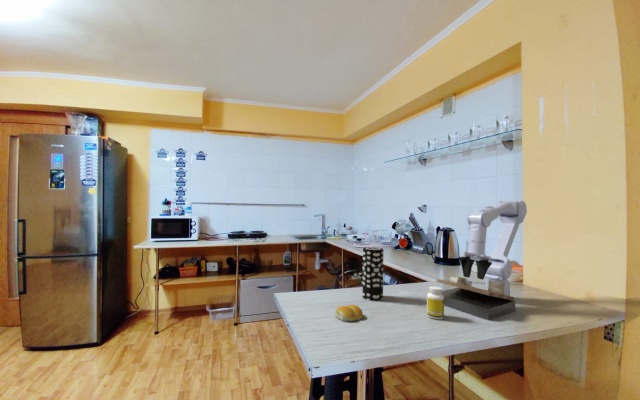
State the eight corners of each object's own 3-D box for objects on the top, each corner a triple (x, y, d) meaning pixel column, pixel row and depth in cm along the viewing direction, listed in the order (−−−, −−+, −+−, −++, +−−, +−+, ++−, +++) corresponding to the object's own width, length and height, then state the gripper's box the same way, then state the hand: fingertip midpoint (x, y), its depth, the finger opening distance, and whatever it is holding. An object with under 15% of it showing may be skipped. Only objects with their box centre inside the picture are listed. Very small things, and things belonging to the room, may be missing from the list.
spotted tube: (367, 293, 120) (368, 246, 121) (386, 297, 116) (386, 248, 116) (358, 298, 114) (359, 248, 114) (377, 302, 109) (378, 250, 110)
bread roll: (367, 318, 93) (367, 306, 93) (346, 324, 88) (346, 311, 88) (351, 310, 100) (351, 299, 100) (330, 315, 95) (331, 304, 95)
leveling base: (460, 295, 120) (460, 286, 120) (515, 311, 102) (515, 301, 102) (433, 301, 111) (433, 292, 111) (488, 320, 92) (488, 309, 93)
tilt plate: (462, 287, 119) (463, 274, 120) (513, 300, 102) (515, 286, 103) (437, 281, 111) (439, 268, 112) (489, 295, 94) (491, 280, 95)
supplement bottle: (445, 320, 92) (445, 290, 92) (428, 319, 93) (428, 289, 93) (442, 314, 97) (442, 286, 97) (425, 313, 98) (425, 285, 98)
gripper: (473, 240, 102) (469, 278, 100) (499, 246, 107) (496, 282, 106) (456, 239, 108) (453, 274, 107) (482, 244, 114) (479, 278, 112)
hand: (473, 278), depth 107 cm, fingers open, 7 cm apart
